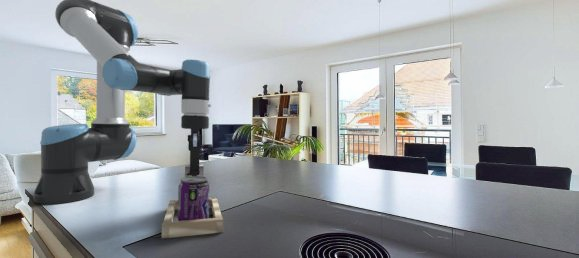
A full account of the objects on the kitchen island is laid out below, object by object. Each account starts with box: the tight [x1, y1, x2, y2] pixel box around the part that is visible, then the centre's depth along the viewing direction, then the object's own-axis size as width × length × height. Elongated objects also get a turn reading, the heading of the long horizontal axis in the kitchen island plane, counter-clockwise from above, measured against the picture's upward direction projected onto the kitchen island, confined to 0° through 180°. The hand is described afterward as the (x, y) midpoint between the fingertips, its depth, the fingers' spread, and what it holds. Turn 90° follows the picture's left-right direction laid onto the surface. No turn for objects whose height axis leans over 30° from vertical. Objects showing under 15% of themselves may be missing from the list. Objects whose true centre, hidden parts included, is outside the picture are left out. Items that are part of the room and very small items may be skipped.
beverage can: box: [177, 176, 210, 221], centre depth 67 cm, size 7×7×12 cm
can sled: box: [161, 164, 224, 239], centre depth 72 cm, size 21×13×12 cm, turn 19°
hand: (193, 195), depth 80 cm, fingers closed on can sled, 3 cm apart
